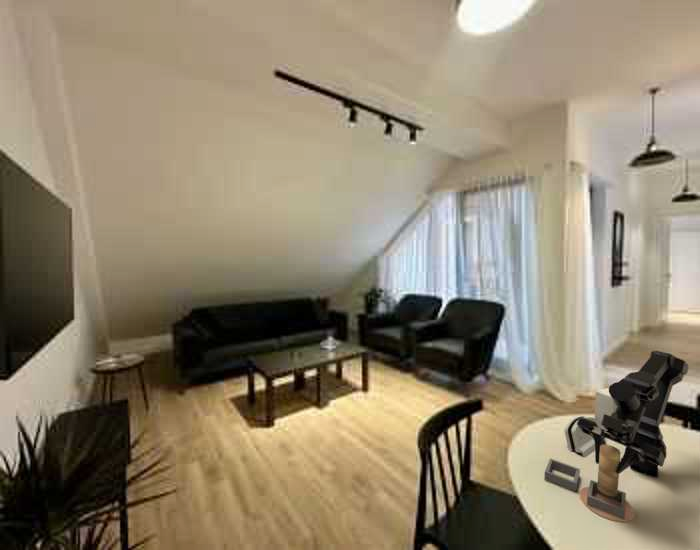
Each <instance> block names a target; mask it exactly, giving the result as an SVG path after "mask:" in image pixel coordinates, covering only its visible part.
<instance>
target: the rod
mask: <svg viewBox="0 0 700 550" xmlns="http://www.w3.org/2000/svg"><path fill="white" fill-rule="evenodd" d="M621 453H622V452H621V450H620V449H619V448H617V447H615V446H613V445H610V444H607V443H606V444H603V445H600V454H599V463H598V471H597V472H598V473H597V482H598V484H597V488H598V490H599V491H600V492H602V493H603V494H606V495H608V496H617V493H618V490H619V480H620V479H619V478H620V474H617V473H616V470H617V467H618V465H619V463H620V461H621Z"/></svg>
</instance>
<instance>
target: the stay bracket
mask: <svg viewBox="0 0 700 550" xmlns="http://www.w3.org/2000/svg"><path fill="white" fill-rule="evenodd" d="M597 484H598V481H594V480H592V479H590V481H589V486H586V487H583V488H581V490H580V491H579V498H580V500H581V502H582V503H583V505H584V506H585V507H587V508H588V509H589V510H590V511H591V512H592V513H594V514H596V515H598V516H600V517H602V518H604V519H606V520H610V521H613V522H616V523H628V522H629V523H630V522H631V521H632V520H634V519H635V510H634V508H633V507H632V505H631V504H630V502H628V501H627V493H626V492H624V491H622V490H619V489H618V493H617V496H608V495H606V494H603V493H602V492H600V491H599V490H598V488H597Z"/></svg>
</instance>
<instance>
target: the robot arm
mask: <svg viewBox="0 0 700 550" xmlns="http://www.w3.org/2000/svg"><path fill="white" fill-rule="evenodd" d="M649 356H650V357H648V359H647V360H646V361H645V363H643V365H642V366H641V368H640V369H639V370H638V371H635V372H629V373H628V374H627V375H626V376H625V377H623V378H621V380H619V381H616V382H614V383H612V384H610V386H608V388H609V393H610V395H611V397H612V399H613V401H614V403H615V404H616V406H617V408H616V410H615V413H614V412H613V413H612V415H611V416H609V415H606V414H604V416H603V420H602V424H601V425H602V426H604V428H605V429H607V431H605V430H603V429H601V428H599V427H598V426H597V424H596V423H595V422H593V421H591V420H588V419H586V418H583V417H582V418H580V419H579V420H578V422H577V425H578V427H579V428H580V429H581V431H582V432H584V433H585V434H588V435H590V436H592V438H593V439H594V442H595V451H594V453H595V455H594V457H595V458H594V459H595V460H594V461H595V464H596V465H599V454H600V445H603V444H606V445H607V442H605V441H604V439H606V440H607V439H608V440H610V441H613V442H614V443H617V444H619V445H622V446H624V447H625V449H624V454H623V456H622V457H621V458H620V463H619V465H618V467H617V470H616V473H617V474H619V475H620V474H621V473H622V472H623V471H625V470H626V469H628V468H629V469H631V470H632V471H635V472H638V473H642V474H644V475H647V476H651V477H653V478H659V467H663V466H664V464H665V461H666V459H667V445H666V444H665V441H664V440H663V439H664V437H663V436H664V435H663V433H662V430H661V428H660V425H661V421H662V419H663V417H664V414H665V413H664V412H665V410H666V408H667V404H668V401H669V398H670V395H671V392H672V390H673V387H674V386H675V385H677V384H678V383H680V382H682V381H683V379H684V376H686V375H687V374H688V371H689V364H688V362H686V361H685V360H684V359H682V358H681V359H680V358H678V357H676V356H675V355H673V354H672V353H670V352H663V351H659V350H652V351H651V352H650V355H649ZM642 401H645V404H644V403H643V402H642ZM610 436H612V437H610Z"/></svg>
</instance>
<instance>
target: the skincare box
mask: <svg viewBox="0 0 700 550" xmlns="http://www.w3.org/2000/svg"><path fill="white" fill-rule="evenodd" d="M594 404H595V405H594V406H595V407H594V417H593V418H594V419H595V421H596V423H597V426H598V427H599V428H601V429H603V430H605V431H607V429H605V428H604V426H602V425H601V424H602V420H603V416H604V414H606V415H609V416H611V415H612V413H613V412H614V413H615V410H616V408H617V406H616V404H615V403H614V401H613V399H612V397H611V395H610V393H609V387H606V388H601V389H599V390H595V402H594ZM610 437H612V436H610Z"/></svg>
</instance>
